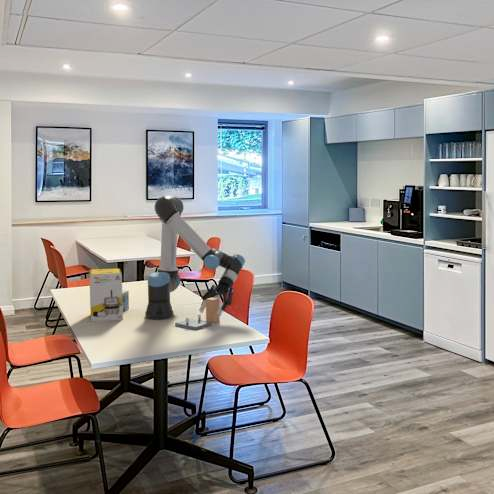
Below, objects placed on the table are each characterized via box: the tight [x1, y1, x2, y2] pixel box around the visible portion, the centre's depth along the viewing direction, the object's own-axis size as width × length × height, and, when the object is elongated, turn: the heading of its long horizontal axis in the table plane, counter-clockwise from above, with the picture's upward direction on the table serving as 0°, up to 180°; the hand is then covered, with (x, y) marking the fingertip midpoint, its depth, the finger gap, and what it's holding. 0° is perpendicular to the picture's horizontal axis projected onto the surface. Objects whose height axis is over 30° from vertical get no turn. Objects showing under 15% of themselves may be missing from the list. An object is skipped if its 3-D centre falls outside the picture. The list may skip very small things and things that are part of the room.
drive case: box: [205, 297, 221, 324], centre depth 316 cm, size 5×5×12 cm
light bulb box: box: [122, 289, 130, 313], centre depth 341 cm, size 11×7×11 cm, turn 169°
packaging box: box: [88, 268, 124, 322], centre depth 324 cm, size 16×16×25 cm
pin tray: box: [174, 313, 213, 331], centre depth 307 cm, size 14×12×5 cm
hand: (209, 313), depth 314 cm, fingers open, 11 cm apart
